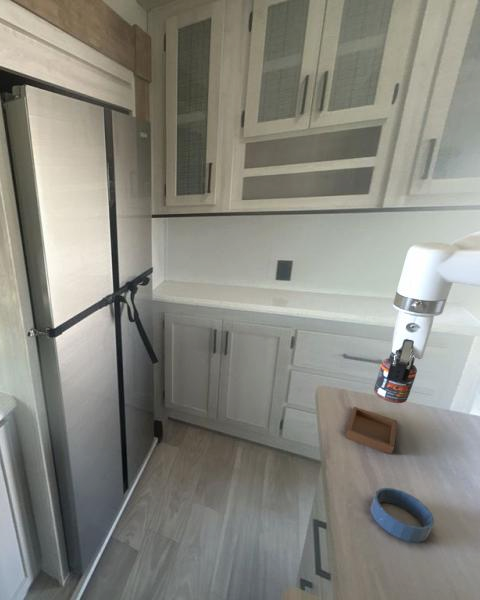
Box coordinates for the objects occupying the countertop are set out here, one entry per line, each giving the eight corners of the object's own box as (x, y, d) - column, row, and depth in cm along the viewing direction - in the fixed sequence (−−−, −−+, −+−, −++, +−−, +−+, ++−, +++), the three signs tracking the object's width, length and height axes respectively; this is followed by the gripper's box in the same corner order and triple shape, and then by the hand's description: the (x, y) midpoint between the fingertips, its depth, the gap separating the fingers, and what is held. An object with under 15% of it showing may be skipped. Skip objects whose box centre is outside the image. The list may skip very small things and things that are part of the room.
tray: (352, 413, 94) (353, 406, 93) (395, 427, 88) (397, 420, 87) (345, 437, 87) (347, 430, 86) (391, 455, 81) (394, 447, 80)
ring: (406, 506, 69) (413, 490, 68) (437, 549, 62) (446, 532, 60) (360, 502, 71) (365, 485, 69) (385, 542, 64) (392, 525, 62)
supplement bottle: (382, 403, 76) (394, 362, 72) (367, 387, 82) (378, 348, 78) (413, 405, 75) (427, 363, 71) (396, 389, 80) (409, 349, 76)
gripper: (446, 322, 61) (419, 400, 68) (442, 292, 72) (419, 361, 79) (391, 313, 66) (371, 387, 73) (396, 286, 77) (378, 352, 84)
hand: (397, 373), depth 76 cm, fingers closed on supplement bottle, 6 cm apart
